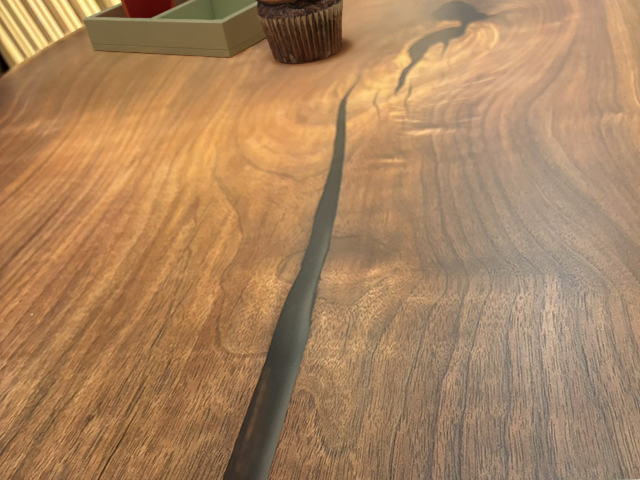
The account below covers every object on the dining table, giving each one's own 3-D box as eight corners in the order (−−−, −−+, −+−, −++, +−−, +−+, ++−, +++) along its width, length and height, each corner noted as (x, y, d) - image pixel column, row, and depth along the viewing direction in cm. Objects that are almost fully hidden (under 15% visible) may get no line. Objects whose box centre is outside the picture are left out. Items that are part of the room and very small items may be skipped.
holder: (230, 57, 84) (221, 22, 81) (93, 50, 94) (82, 19, 92) (288, 24, 91) (281, -9, 89) (155, 21, 101) (146, -9, 99)
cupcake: (252, 67, 80) (229, -34, 74) (286, 38, 87) (267, -56, 80) (332, 65, 77) (315, -40, 71) (360, 35, 84) (347, -63, 77)
